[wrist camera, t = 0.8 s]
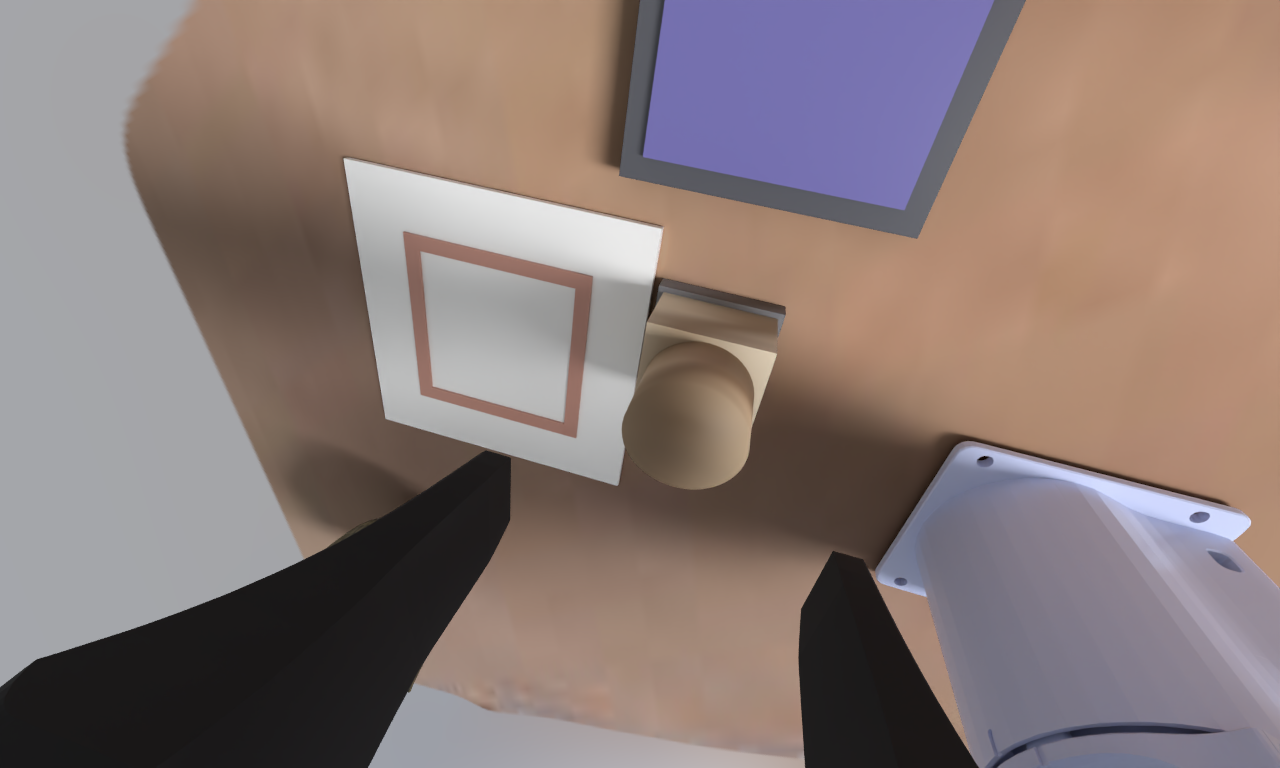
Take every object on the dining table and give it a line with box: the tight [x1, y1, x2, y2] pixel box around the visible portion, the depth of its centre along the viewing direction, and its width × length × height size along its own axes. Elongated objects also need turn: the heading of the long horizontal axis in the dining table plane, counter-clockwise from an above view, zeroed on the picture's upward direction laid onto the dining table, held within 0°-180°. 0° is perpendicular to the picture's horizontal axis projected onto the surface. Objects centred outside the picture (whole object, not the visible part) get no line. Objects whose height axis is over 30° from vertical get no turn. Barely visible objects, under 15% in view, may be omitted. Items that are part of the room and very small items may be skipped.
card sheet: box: [343, 157, 664, 486], centre depth 21 cm, size 12×12×1 cm
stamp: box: [622, 278, 786, 490], centre depth 16 cm, size 4×4×6 cm
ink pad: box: [619, 0, 1026, 239], centre depth 13 cm, size 9×9×1 cm
